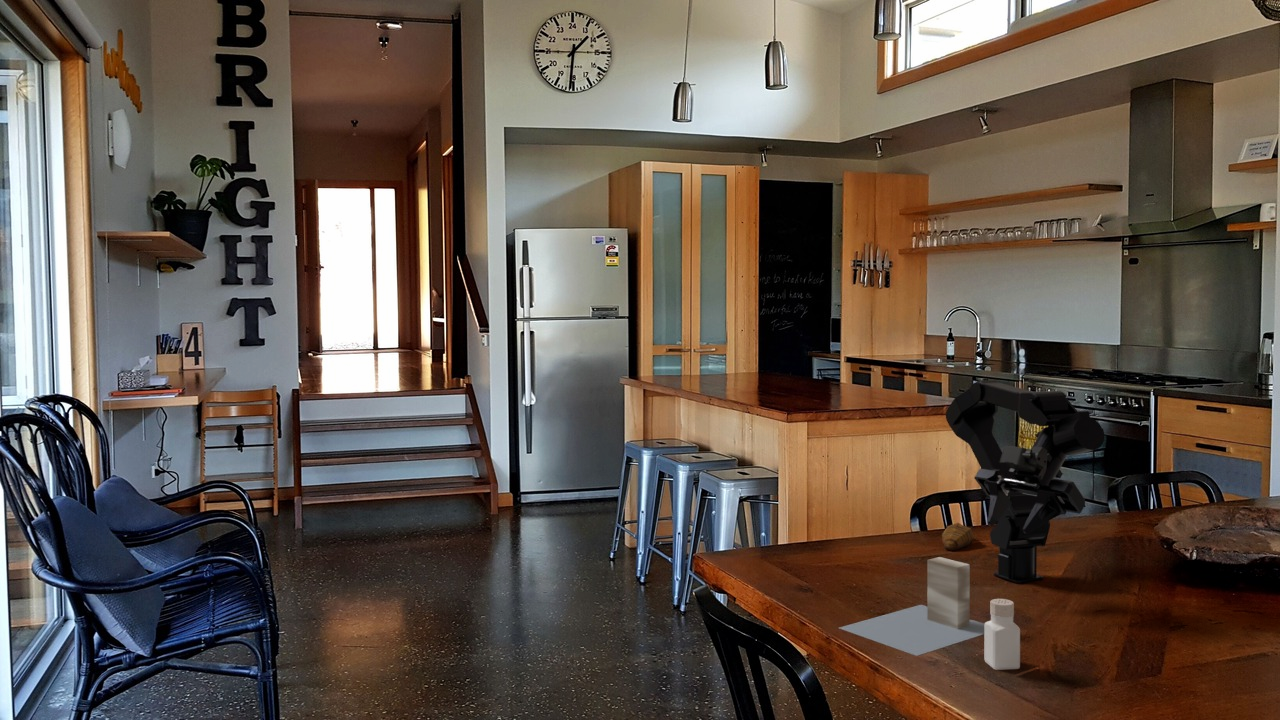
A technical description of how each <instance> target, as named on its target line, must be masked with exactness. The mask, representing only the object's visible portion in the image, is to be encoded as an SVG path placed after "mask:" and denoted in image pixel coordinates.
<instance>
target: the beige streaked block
mask: <svg viewBox="0 0 1280 720" xmlns="http://www.w3.org/2000/svg"><path fill="white" fill-rule="evenodd" d="M926 561H927V569H926V570H927V573H926V574H927V575H926V576H927V577H926V578H927V584H926V585H927V589H926V590H927V591H926V592H927V596H926V599H927V601H926V602H927V620H930V621H933V622H936V623H939V624H942V625H946V626H949V627H952V628H955V629H960V628H963V627H966V626H970V620H971V619H970V615H971V614H970V613H971V612H970V609H971V608H970V595H971V594H970V592H971V591H970V590H971V589H970V588H971V587H970V582H971V581H970V579H971V577H970V573H971V572H970V571H971V570H970V563H966V562H962V561H957V560H952V559H949V558H945V557H941V556H938V557H934V558H931V559H927V560H926Z"/></svg>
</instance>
